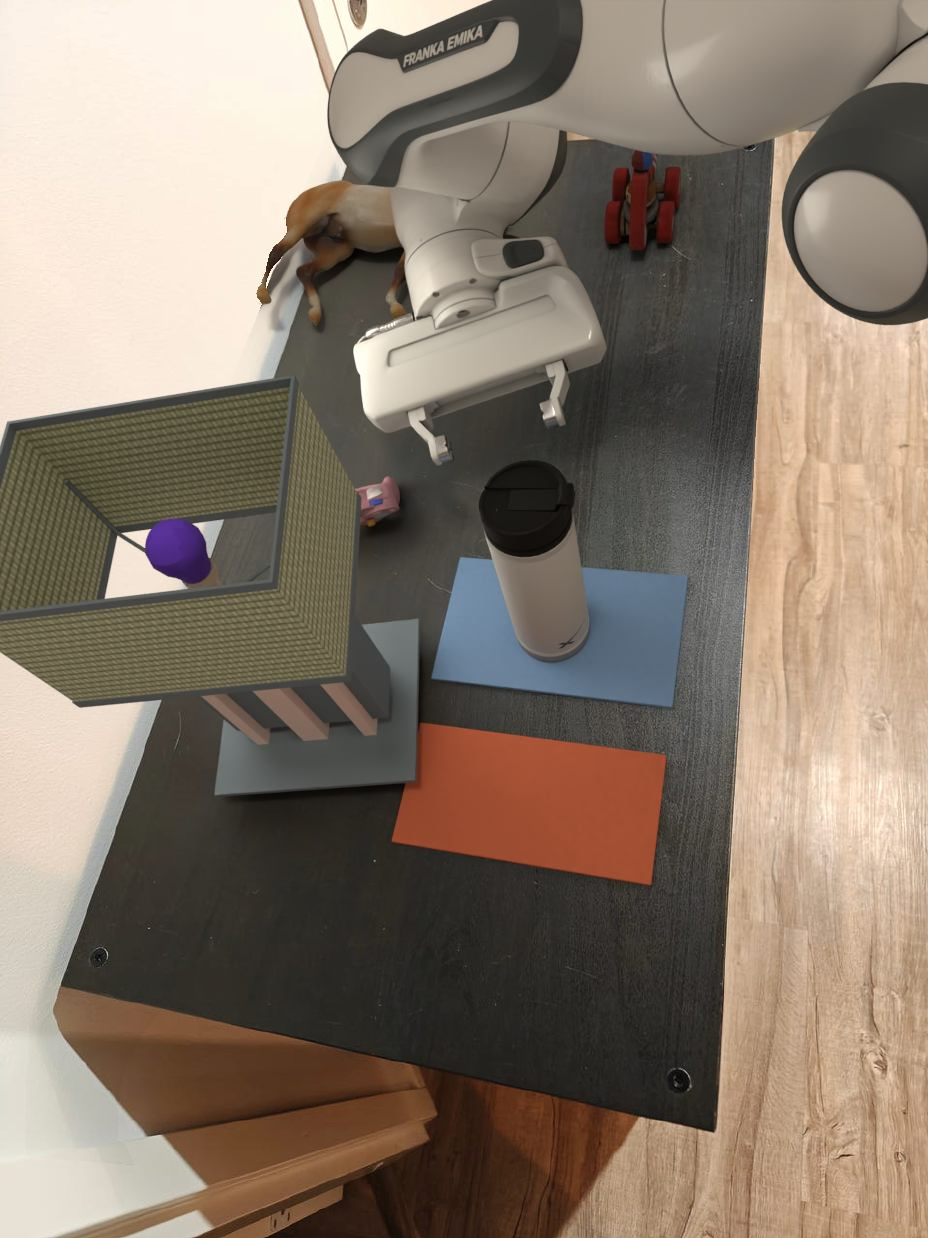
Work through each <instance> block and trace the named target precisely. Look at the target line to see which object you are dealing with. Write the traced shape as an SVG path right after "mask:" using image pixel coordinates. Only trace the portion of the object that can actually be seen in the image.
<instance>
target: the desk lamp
mask: <svg viewBox="0 0 928 1238" xmlns="http://www.w3.org/2000/svg"><path fill="white" fill-rule="evenodd" d="M355 489H356V488H355V486H354V485H353V483H352V481H351V479H350V477H349V476H348V474H347V471H346V470H345V468H344V467H343V465H342V463H341V461H340V459H339V457H338V455H337V454H336V452H335V450H334V448H333V445H332V444H331V442H330V441H329V439H328V436H327V435H326V433H325V431H324V429H323V428H322V426H321V424H320V422H319V420H318V418H317V417H316V415H315V413H314V411H313V409H312V408H311V405H310V404H309V402H308V400H307V398H306V396H305V394H304V393H303V391H302V389H301V387H300V382H299V380H298V378H297V376H296V375H295V374H291V375H286V376H279V377H273V378H267V379H260V380H254V381H250V382H242V383H236V384H229V385H224V386H223V385H222V386H218V387H211V388H205V389H199V390H192V391H187V392H180V393H175V394H167V395H162V396H155V397H149V398H143V399H137V400H131V401H125V402H124V401H123V402H119V403H112V404H107V405H100V406H95V407H88V408H82V409H76V410H70V411H64V412H63V411H62V412H58V413H50V414H46V415H39V416H32V417H26V418H20V419H14V420H8V421H6V424H5V427H4V431H3V435H2V439H1V441H0V654H1V655H4V657H7V658H8V659H10V661H13V662H14V663H15V664H17V665H18V666H19V667H21V668H22V669H24V670H26V671H27V672H29V673H30V674H31V675H33V676H34V677H36V678H38V679H39V680H40V681H42V682H44V683H45V684H46V685H48V686H49V687H51V688H52V689H54V690H55V691H56V692H58V693H60V694H61V695H62V696H64V697H65V698H67V699H69V700H70V701H72V702H71V703H72V704H73V705H75V706H76V707H77V708H79V709H83V708H92V707H103V706H113V705H124V704H134V703H144V702H152V701H153V702H155V701H164V700H174V699H175V700H176V699H187V698H196V697H197V698H198V699H199V700H200V701H202V702H203V703H204V704H205V705H206V706H207V707H209V708H210V709H211V710H212V711H213V712H215V713H216V714H217V715H218V716H219V717H220V718H222V719H223V721H222V729H221V730H222V731H221V738H220V745H219V755H218V762H217V769H216V777H215V786H214V792H213V793H214V794H213V796H214V797H216V798H220V797H221V798H222V797H232V796H233V797H234V796H247V795H260V794H261V795H262V794H273V793H274V794H275V793H287V792H298V791H299V792H301V791H313V790H314V791H315V790H316V791H317V790H329V789H341V788H353V787H355V788H356V787H367V786H382V785H392V784H393V785H395V784H405V783H410V782H417V742H418V730H419V693H420V692H419V690H420V689H419V688H420V651H421V650H420V646H421V641H420V640H421V638H420V637H421V620H420V619H419V618H412V619H402V620H392V621H384V622H374V623H365V624H362V623H361V622H360V621H359V619H358V618H357V616H356V601H357V600H356V599H357V585H358V584H357V583H358V568H359V549H360V533H361V525H360V518H361V501H362V498H361V496H360V495H359V493H358V491H356V490H355ZM269 514H275V519H274V528H273V535H272V546H271V555H270V561H269V562H268V563H267V564H266V565H264V566H263V567H261V568H260V569H259V570H258V571H256V572H255V573H253V574H252V575H250V576H249V577H248V578H246V579H245V580H244V581H240V582H233V583H223V582H222V581H221V580H220V579H219V575H220V574H219V573H220V571H219V568H218V566H217V565H216V563H215V562H214V560H212V559H211V558H210V557H209V554H208V549H207V548H208V547H207V541H206V538H205V536H204V535H203V532H202V531H201V529H200V527H198V526H196V525H195V524H200V523H207V522H208V523H210V522H216V521H222V520H231V519H238V518H246V517H252V516H253V517H254V516H261V515H269ZM148 530H149V531H148ZM140 531H148V534H147V536H146V539H145V544H144V546H143V545H141V544H139V543H138V542H136V541H135V540H133V539H131V538H130V537H128V536H127V535H125V533H133V532H140ZM118 537H119V538H121V539H122V540H124V541H125V542H127V543H128V544H130V545H132V546H133V547H134V548H137V549H138V550H140V551H141V552H143V553H144V554H145V556H146V558H147V560H148V561H149V563H150V566H151V567H152V568H153V569H154V570H155V571H157V572H159V573H161V574H162V575H165V576H166V577H168V578H173V579H176V580H180V581H181V583H182V584H183V585H184V586H185V587H186V588H184V589H183V588H182V589H175V590H165V591H159V592H150V593H141V594H133V595H125V596H116V597H107V598H106V594H107V590H108V584H109V580H110V574H111V569H112V566H113V565H112V564H113V560H114V554H115V550H116V545H117V539H118ZM268 570H269V572H268V578H266V579H265V578H264V579H258V580H255V579H257V578H258V577H259V576H261V575H262V574H263V573H265V572H266V571H268Z"/></svg>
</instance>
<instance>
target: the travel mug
mask: <svg viewBox="0 0 928 1238" xmlns="http://www.w3.org/2000/svg"><path fill="white" fill-rule="evenodd" d="M483 488H484V490H483V491H482V492H481V493H480V497H479V500H478V512H479V517H480V520H481V524H482V529H483V533H484V536H485V540H486V543H487V546H488V551H489V553H490V556H491V560H493V563H494V566H495V569H496V572H497V576H498V579H499V582H500V585H501V589H502V592H503V595H504V598H505V601H506V605H507V608H508V611H509V614H510V618H511V621H512V624H513V627H514V630H515V634H516V637H517V640H518V642H519V644H520V646H521V647H522V649H523V650H524V651H525V652H526V653H527V654H528V655H530V656H532V657H533V658H536V659H538V660H541V661H547V662H555V661H561V660H564V659H567V658H569V657H571V656H573V655H574V654H576V653H577V652H578V651H579V650H580V649H581V648H582V647H583V646H584V645H585V643H586V641H587V639H588V637H589V633H590V620H589V614H588V607H587V601H586V594H585V588H584V581H583V575H582V568H581V567H582V562H581V557H580V556H581V555H580V549H579V543H578V537H577V530H576V524H575V518H574V511H573V508H574V505H575V500H576V490H575V485H574V483H573V482H568V481H567V479H566V477H565V475H564V473H563V472H562V471H561V470H560V469H559V468H558V467H556V466H555V465H554V464H551V463H549V462H547V461H544V460H537V459H526V460H518V461H516V462H512V463H510V464H507V465H505V466H503V467H501V468H500V469H499V470H497V471H496V472H494V473H493V474H492V475H491V476H490V477H489V479H488V481H487V482H486V484H485V485H484V486H483Z"/></svg>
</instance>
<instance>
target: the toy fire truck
mask: <svg viewBox="0 0 928 1238" xmlns="http://www.w3.org/2000/svg"><path fill="white" fill-rule="evenodd" d="M658 156H659V154H653V153H647V152H642V151H638V150H634V152H633V154H632V156H631V167H632V174H631V172H630V168H629V167H616V168H615V169H614V171H613V174H612V175H613V176H612V186H611V201H608V202H607V203H606V206H605V213H604V223H603V224H604V225H603V226H604V229H603V231H604V242H605V243H606V244H614V245H617V244H620V243H621V242H622V238H623V236H624V237H627V236H628V239H629V241H628V242H629V244H628V245H629V249H630V250H632V251H644V250H645V249H646V245H647V238H648V233H649V229H656V235H655V236H656V237H655V239H656V242H657V243H658V244H671V242H672V240H673V235H674V227H675V212H676V209H678V207H679V205H680V198H681V185H682V184H681V183H682V182H681V181H682V180H681V179H682V169H681V167H680V166H668V167H666V168H665V171H664V180H663V181H664V182H658V183H656V175H657V165H658V158H659V157H658ZM657 194H663V197H662V200H661V201H659V200H658V199H657V198H656V195H657Z"/></svg>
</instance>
